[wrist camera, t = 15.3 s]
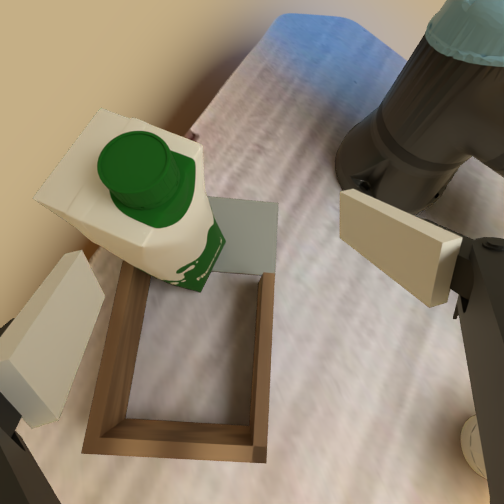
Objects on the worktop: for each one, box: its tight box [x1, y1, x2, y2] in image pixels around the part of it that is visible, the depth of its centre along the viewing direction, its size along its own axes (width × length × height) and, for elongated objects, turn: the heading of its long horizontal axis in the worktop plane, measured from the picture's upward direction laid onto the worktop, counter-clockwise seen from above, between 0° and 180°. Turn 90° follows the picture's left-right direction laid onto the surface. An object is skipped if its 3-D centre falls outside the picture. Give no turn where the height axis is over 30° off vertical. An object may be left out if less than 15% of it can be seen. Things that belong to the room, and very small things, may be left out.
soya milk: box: [33, 108, 226, 292], centre depth 25 cm, size 9×9×20 cm
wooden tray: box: [81, 261, 275, 463], centre depth 29 cm, size 15×17×6 cm
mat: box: [207, 196, 278, 276], centre depth 36 cm, size 13×10×1 cm
